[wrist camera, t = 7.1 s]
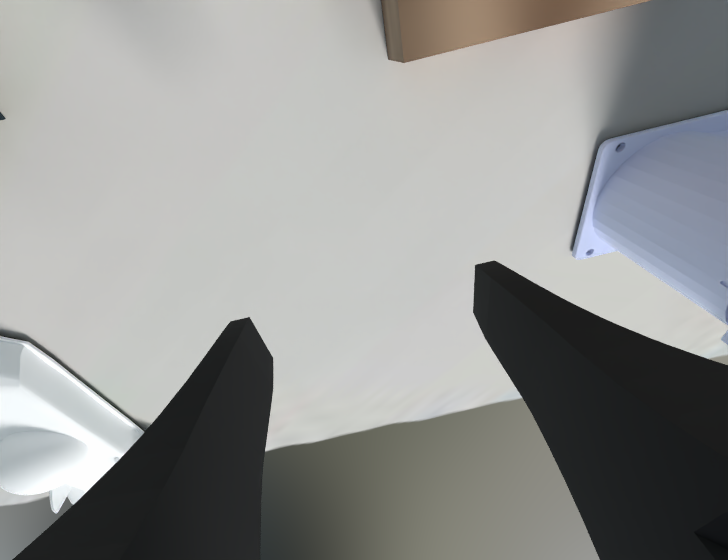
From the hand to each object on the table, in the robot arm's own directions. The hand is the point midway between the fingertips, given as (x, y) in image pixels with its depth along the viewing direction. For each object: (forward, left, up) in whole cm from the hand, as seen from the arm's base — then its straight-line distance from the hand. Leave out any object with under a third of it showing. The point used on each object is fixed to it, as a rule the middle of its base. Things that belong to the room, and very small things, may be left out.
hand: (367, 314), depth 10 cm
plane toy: (+26, +12, -10) cm, 30 cm away
